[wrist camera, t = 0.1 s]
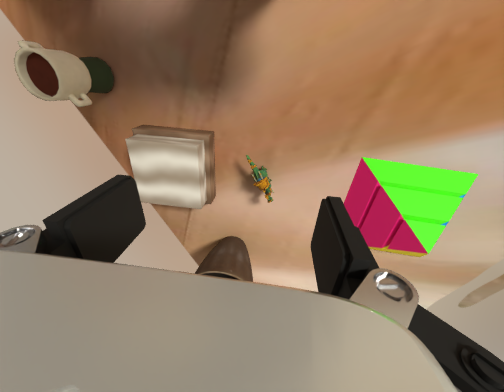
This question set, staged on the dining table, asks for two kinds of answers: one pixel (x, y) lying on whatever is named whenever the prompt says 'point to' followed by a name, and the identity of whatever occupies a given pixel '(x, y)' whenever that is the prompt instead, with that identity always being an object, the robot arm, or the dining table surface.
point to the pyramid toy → (404, 204)
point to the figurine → (261, 180)
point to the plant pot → (228, 261)
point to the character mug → (61, 74)
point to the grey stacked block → (173, 165)
